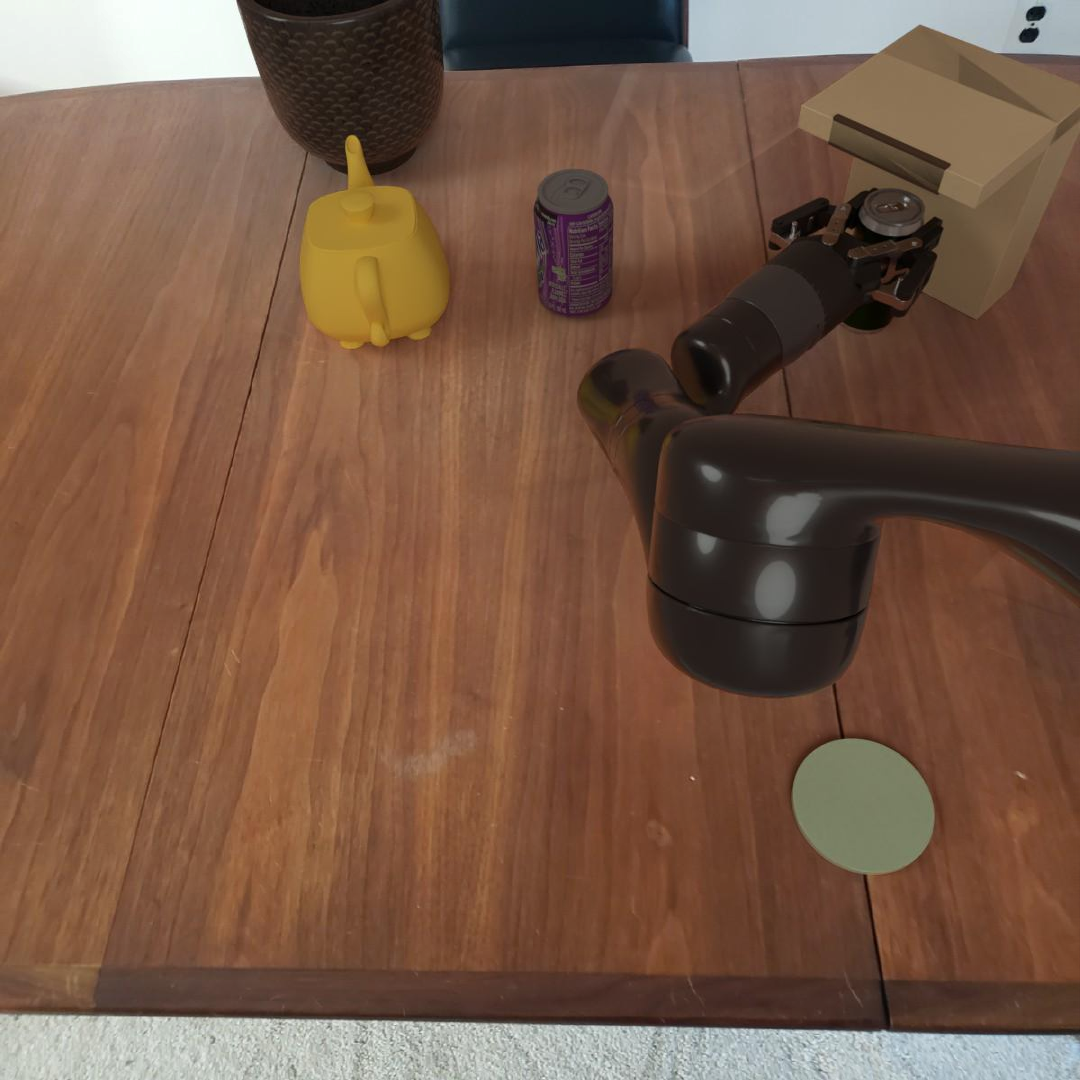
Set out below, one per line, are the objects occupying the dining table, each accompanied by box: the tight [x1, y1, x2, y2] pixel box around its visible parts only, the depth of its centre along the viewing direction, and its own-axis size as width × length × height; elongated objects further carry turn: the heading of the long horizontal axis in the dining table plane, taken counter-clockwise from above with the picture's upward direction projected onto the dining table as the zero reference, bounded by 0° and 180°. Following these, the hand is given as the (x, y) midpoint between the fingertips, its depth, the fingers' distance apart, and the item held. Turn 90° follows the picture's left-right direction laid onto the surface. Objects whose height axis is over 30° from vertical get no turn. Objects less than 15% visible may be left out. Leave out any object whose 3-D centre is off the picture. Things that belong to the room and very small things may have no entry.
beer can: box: [839, 188, 925, 335], centre depth 85 cm, size 5×5×12 cm
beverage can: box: [532, 168, 614, 318], centre depth 89 cm, size 7×7×12 cm
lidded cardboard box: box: [797, 24, 1080, 321], centre depth 85 cm, size 20×16×20 cm
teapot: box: [299, 135, 451, 350], centre depth 89 cm, size 14×20×13 cm
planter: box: [235, 0, 445, 176], centre depth 102 cm, size 20×20×19 cm
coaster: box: [790, 737, 936, 876], centre depth 63 cm, size 9×9×1 cm
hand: (905, 212), depth 83 cm, fingers closed on beer can, 5 cm apart
